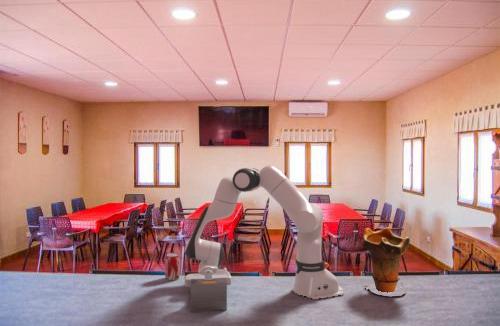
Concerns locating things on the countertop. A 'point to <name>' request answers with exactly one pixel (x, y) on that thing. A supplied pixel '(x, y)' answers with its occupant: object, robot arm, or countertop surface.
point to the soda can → (172, 266)
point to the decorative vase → (385, 256)
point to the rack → (208, 295)
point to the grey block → (208, 277)
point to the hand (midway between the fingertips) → (208, 286)
